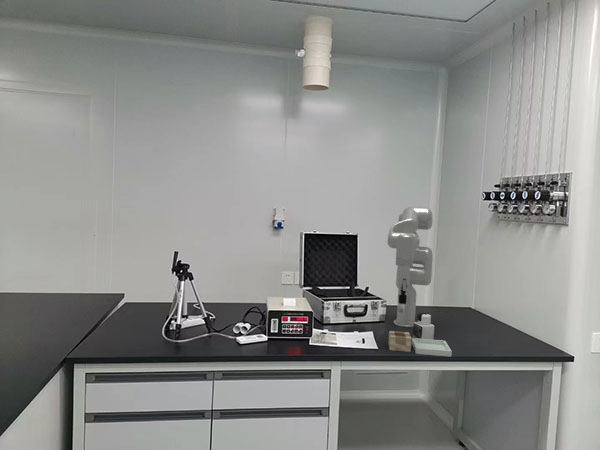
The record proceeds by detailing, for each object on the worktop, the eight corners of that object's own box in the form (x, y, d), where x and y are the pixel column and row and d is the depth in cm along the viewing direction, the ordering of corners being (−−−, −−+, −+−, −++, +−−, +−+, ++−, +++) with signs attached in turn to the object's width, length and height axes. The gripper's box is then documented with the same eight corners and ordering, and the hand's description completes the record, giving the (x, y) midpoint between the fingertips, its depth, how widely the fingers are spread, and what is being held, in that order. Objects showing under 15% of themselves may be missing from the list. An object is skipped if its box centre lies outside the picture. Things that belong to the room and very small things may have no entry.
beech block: (388, 343, 209) (389, 330, 209) (408, 345, 208) (409, 332, 208) (389, 350, 200) (390, 336, 200) (410, 351, 199) (411, 338, 199)
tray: (411, 343, 212) (412, 338, 212) (444, 345, 210) (445, 340, 210) (415, 353, 197) (416, 348, 197) (451, 356, 195) (451, 351, 195)
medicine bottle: (412, 336, 222) (414, 312, 222) (424, 335, 225) (426, 311, 224) (421, 340, 216) (422, 316, 215) (433, 339, 218) (435, 315, 217)
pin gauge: (397, 310, 205) (398, 284, 204) (404, 311, 204) (406, 284, 204) (397, 312, 202) (399, 285, 201) (405, 312, 201) (406, 286, 201)
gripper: (394, 259, 210) (391, 298, 211) (397, 264, 194) (394, 306, 195) (410, 260, 209) (408, 299, 210) (415, 265, 193) (412, 307, 194)
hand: (401, 302), depth 203 cm, fingers closed on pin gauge, 3 cm apart
